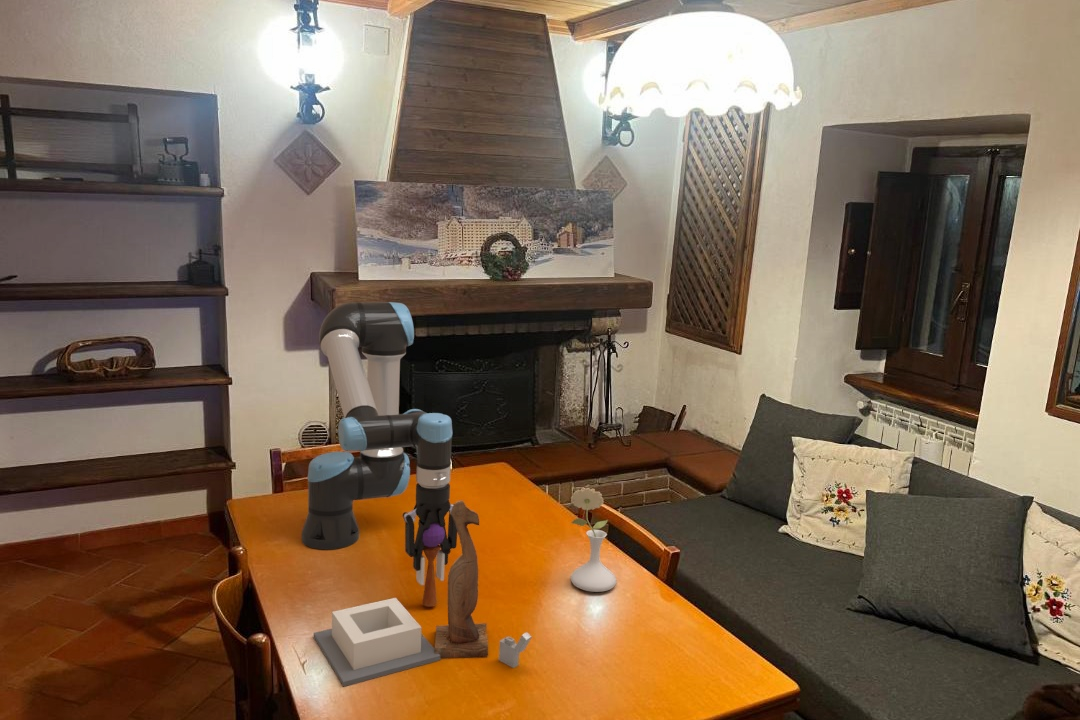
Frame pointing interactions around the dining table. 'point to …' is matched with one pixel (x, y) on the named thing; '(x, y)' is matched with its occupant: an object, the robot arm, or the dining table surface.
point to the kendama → (431, 560)
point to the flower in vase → (592, 546)
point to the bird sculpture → (462, 597)
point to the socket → (374, 642)
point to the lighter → (512, 649)
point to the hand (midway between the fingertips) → (430, 580)
